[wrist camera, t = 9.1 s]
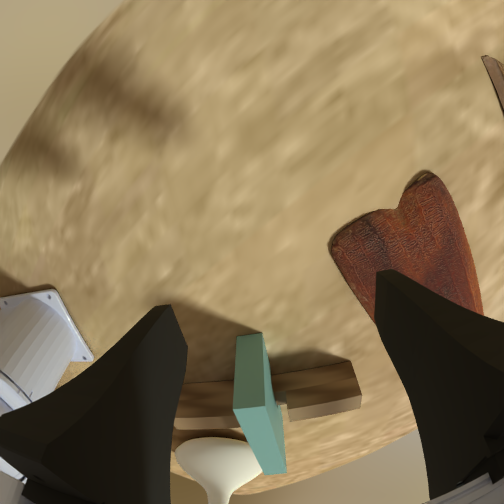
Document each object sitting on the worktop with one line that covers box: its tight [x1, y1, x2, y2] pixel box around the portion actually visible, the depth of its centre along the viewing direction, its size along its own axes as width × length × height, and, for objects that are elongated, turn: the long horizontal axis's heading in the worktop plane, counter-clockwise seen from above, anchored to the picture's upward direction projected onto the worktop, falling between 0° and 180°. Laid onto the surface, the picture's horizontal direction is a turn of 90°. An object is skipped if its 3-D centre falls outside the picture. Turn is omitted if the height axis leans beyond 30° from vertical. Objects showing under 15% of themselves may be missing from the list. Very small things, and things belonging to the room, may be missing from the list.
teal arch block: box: [233, 333, 287, 475], centre depth 22 cm, size 12×2×7 cm, turn 11°
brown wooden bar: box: [174, 361, 362, 430], centre depth 24 cm, size 16×2×4 cm, turn 101°
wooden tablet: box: [332, 173, 484, 324], centre depth 23 cm, size 27×10×2 cm, turn 39°
